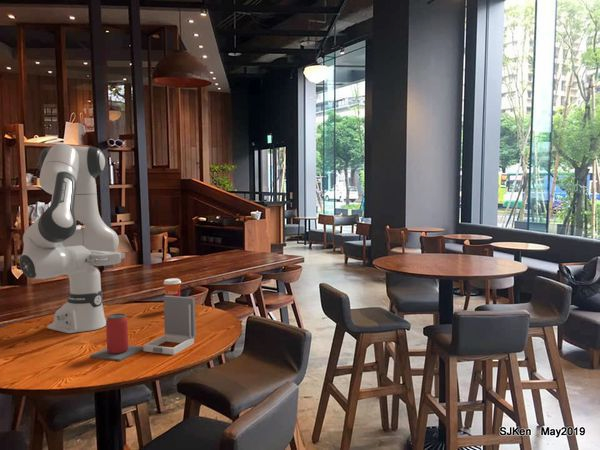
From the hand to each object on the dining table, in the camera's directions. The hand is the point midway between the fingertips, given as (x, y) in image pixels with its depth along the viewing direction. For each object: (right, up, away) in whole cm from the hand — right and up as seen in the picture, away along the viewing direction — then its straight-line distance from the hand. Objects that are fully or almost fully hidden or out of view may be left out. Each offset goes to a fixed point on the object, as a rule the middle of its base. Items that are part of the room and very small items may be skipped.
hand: (114, 254), depth 161 cm
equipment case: (+19, -32, 0) cm, 37 cm away
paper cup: (+7, -29, +50) cm, 58 cm away
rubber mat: (+3, -32, -5) cm, 33 cm away
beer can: (+3, -32, -5) cm, 33 cm away
